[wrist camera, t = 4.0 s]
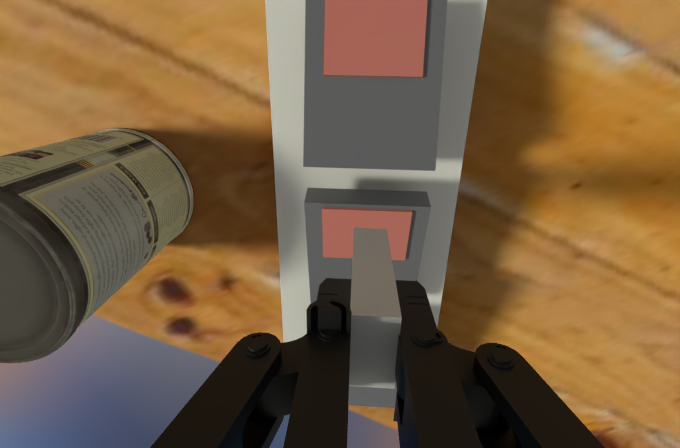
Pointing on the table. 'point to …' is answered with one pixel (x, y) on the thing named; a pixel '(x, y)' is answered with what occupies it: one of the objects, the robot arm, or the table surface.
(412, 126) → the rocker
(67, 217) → the coffee can
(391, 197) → the rocker
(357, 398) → the rocker
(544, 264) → the table surface
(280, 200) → the power strip
